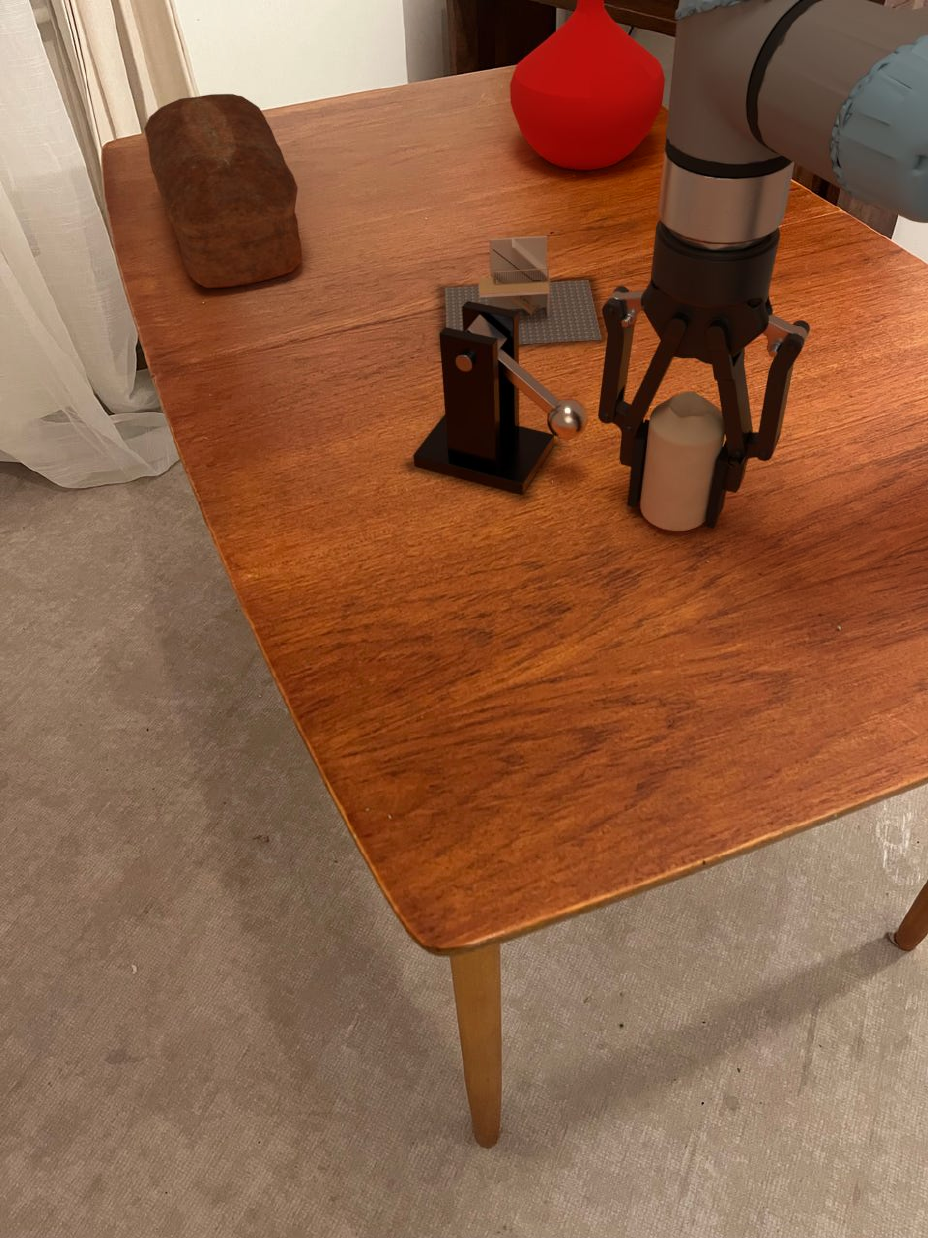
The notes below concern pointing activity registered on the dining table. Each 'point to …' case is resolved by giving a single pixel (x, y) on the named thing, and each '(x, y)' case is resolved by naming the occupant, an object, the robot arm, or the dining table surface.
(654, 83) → the vase
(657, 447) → the candle
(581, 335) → the architectural model
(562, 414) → the lever
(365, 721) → the dining table surface
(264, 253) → the bread
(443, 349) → the bracket
